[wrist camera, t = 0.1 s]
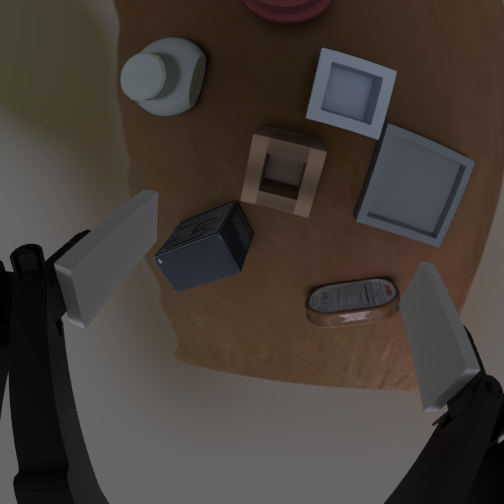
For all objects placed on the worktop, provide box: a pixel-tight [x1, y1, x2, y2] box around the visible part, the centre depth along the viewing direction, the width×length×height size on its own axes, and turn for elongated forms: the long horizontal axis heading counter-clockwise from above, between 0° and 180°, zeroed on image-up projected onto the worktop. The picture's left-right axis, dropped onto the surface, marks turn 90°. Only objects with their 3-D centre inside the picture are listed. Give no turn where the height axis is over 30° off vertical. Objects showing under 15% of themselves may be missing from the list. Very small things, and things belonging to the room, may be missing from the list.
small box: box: [153, 200, 254, 292], centre depth 42 cm, size 11×6×10 cm, turn 116°
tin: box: [305, 278, 400, 328], centre depth 44 cm, size 15×3×8 cm, turn 106°
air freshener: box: [121, 37, 206, 116], centre depth 31 cm, size 11×8×10 cm
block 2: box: [306, 48, 397, 140], centre depth 29 cm, size 8×8×8 cm
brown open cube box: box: [241, 125, 327, 218], centre depth 36 cm, size 8×8×8 cm
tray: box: [354, 121, 475, 248], centre depth 36 cm, size 14×14×2 cm
